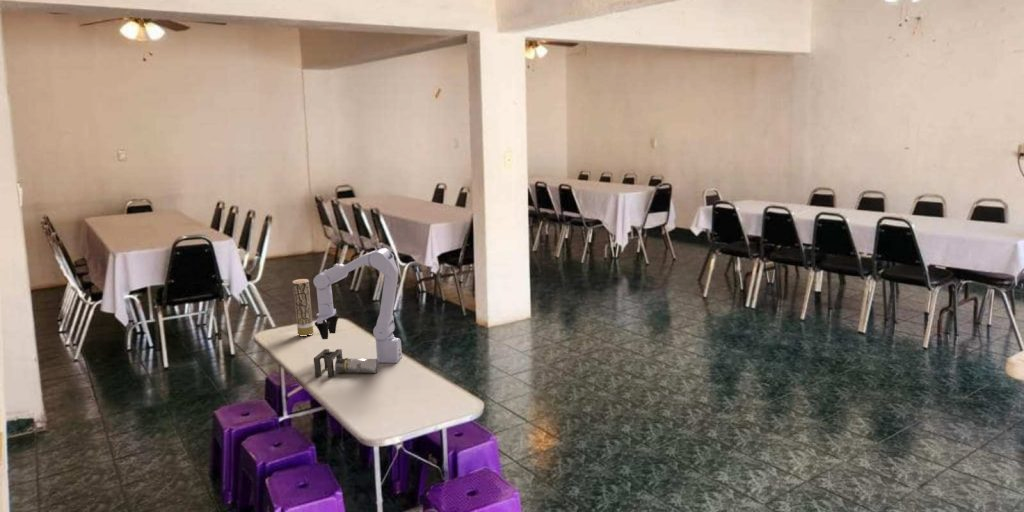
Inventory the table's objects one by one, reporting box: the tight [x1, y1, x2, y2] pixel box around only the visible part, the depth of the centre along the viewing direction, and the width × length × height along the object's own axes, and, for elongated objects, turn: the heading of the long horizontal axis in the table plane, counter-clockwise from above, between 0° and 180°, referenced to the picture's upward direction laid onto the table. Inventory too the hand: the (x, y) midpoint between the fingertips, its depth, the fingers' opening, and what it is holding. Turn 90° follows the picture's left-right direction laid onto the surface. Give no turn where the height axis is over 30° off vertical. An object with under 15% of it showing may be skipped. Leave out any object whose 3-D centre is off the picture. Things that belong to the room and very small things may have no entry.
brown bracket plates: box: [313, 348, 344, 379], centre depth 270 cm, size 7×11×7 cm, turn 172°
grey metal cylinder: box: [334, 357, 379, 374], centre depth 268 cm, size 15×6×5 cm, turn 82°
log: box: [292, 278, 314, 336], centre depth 318 cm, size 7×7×25 cm
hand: (328, 336), depth 283 cm, fingers open, 7 cm apart
